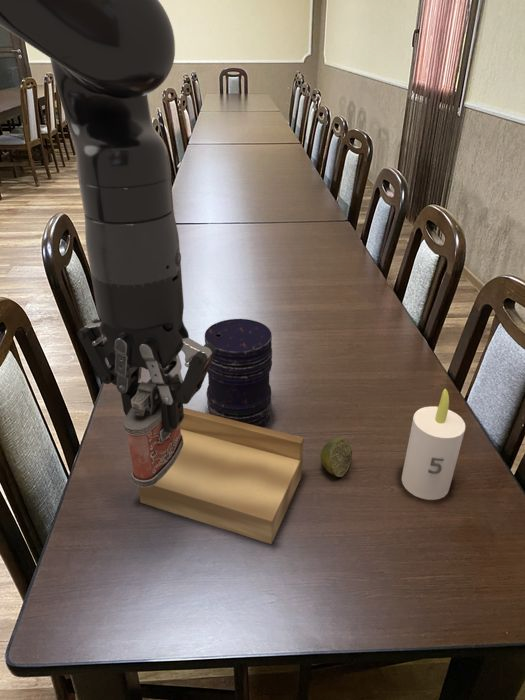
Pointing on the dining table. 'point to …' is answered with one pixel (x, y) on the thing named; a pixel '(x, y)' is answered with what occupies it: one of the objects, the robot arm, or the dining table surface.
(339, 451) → the lime
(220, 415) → the dark blue cylinder
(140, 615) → the dining table surface
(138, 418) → the lighter
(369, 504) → the dining table surface
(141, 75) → the robot arm
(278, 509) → the shelf
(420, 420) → the candle
